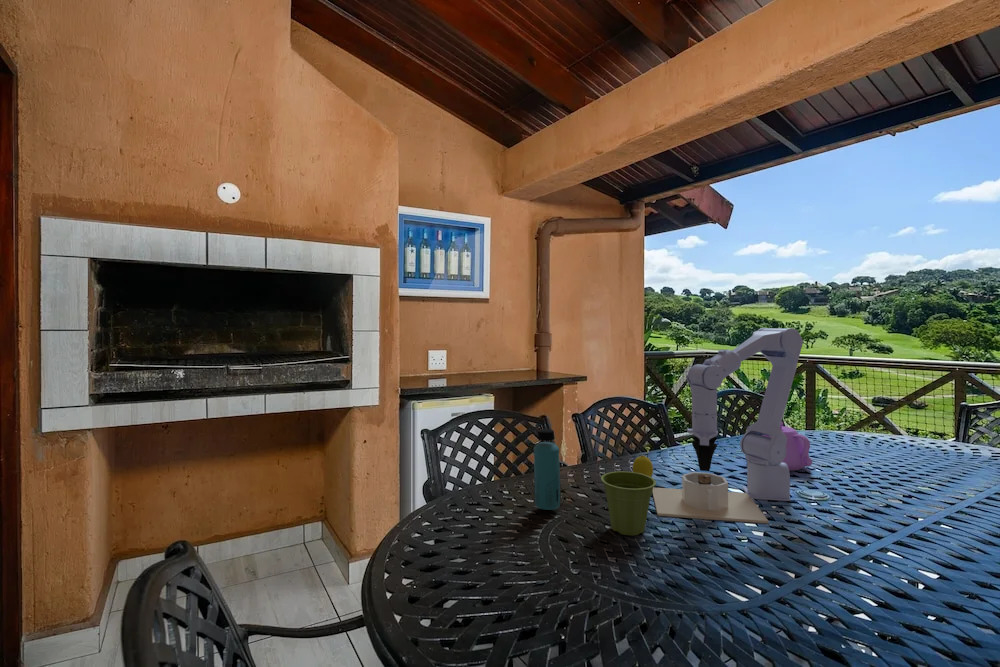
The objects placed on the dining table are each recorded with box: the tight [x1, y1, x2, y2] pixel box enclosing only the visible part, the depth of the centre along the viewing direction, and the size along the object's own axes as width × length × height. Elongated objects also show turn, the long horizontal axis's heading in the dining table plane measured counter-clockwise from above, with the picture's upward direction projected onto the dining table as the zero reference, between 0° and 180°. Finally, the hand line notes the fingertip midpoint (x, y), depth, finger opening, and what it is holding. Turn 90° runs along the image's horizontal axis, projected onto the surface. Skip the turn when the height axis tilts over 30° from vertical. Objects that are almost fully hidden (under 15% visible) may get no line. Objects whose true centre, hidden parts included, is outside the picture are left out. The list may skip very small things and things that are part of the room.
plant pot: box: [600, 470, 657, 537], centre depth 109 cm, size 12×12×11 cm
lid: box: [697, 474, 713, 485], centre depth 122 cm, size 8×8×6 cm
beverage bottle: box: [533, 428, 562, 511], centre depth 120 cm, size 6×7×20 cm
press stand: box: [652, 471, 770, 524], centre depth 122 cm, size 24×18×7 cm
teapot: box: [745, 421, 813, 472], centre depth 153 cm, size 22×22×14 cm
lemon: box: [632, 454, 654, 478], centre depth 139 cm, size 6×6×8 cm
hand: (704, 467), depth 122 cm, fingers open, 5 cm apart
